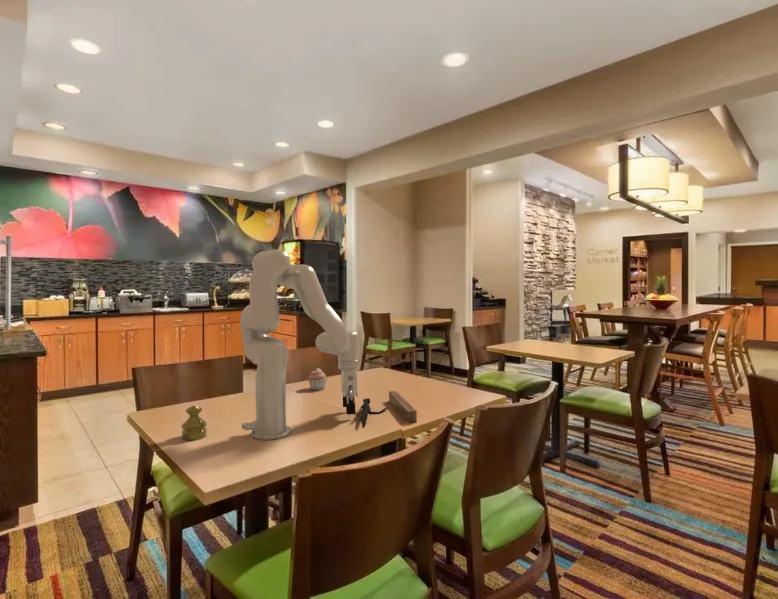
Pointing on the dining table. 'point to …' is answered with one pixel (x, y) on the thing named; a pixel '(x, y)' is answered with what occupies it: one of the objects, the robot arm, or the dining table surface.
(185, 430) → the olive green tapered piece
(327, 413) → the dining table surface
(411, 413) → the rail
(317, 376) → the cupcake
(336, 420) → the dining table surface
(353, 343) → the robot arm
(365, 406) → the dark humanoid figurine
